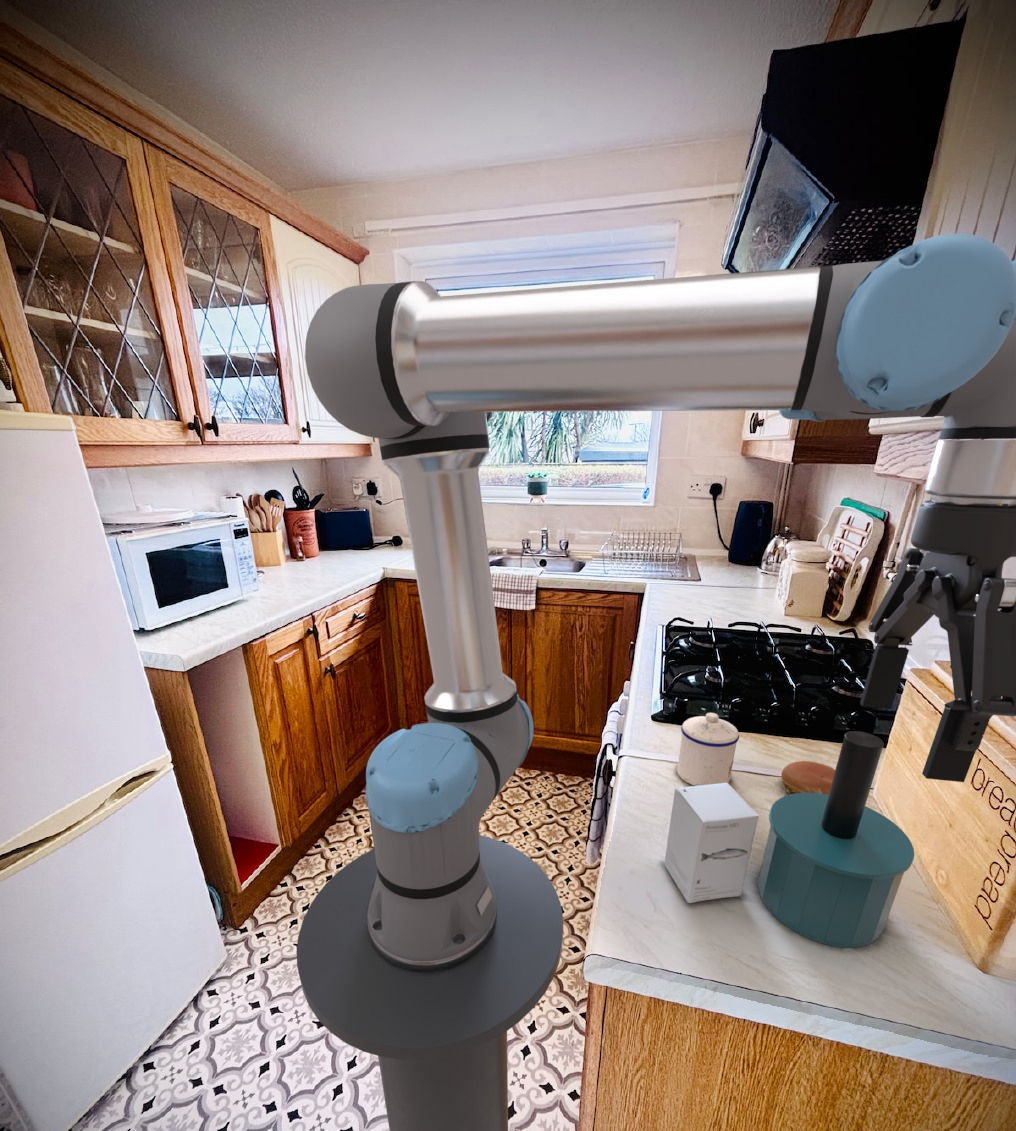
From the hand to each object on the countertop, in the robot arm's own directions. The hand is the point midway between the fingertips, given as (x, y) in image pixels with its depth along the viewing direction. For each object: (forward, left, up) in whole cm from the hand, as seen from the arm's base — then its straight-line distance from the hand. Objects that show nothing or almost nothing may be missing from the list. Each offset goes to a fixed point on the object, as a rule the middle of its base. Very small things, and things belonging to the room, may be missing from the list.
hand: (904, 738), depth 51 cm
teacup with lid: (-11, +35, -27) cm, 46 cm away
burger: (+6, +31, -27) cm, 41 cm away
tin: (0, +7, -27) cm, 28 cm away
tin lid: (0, +7, -16) cm, 18 cm away
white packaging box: (-14, +8, -27) cm, 32 cm away
